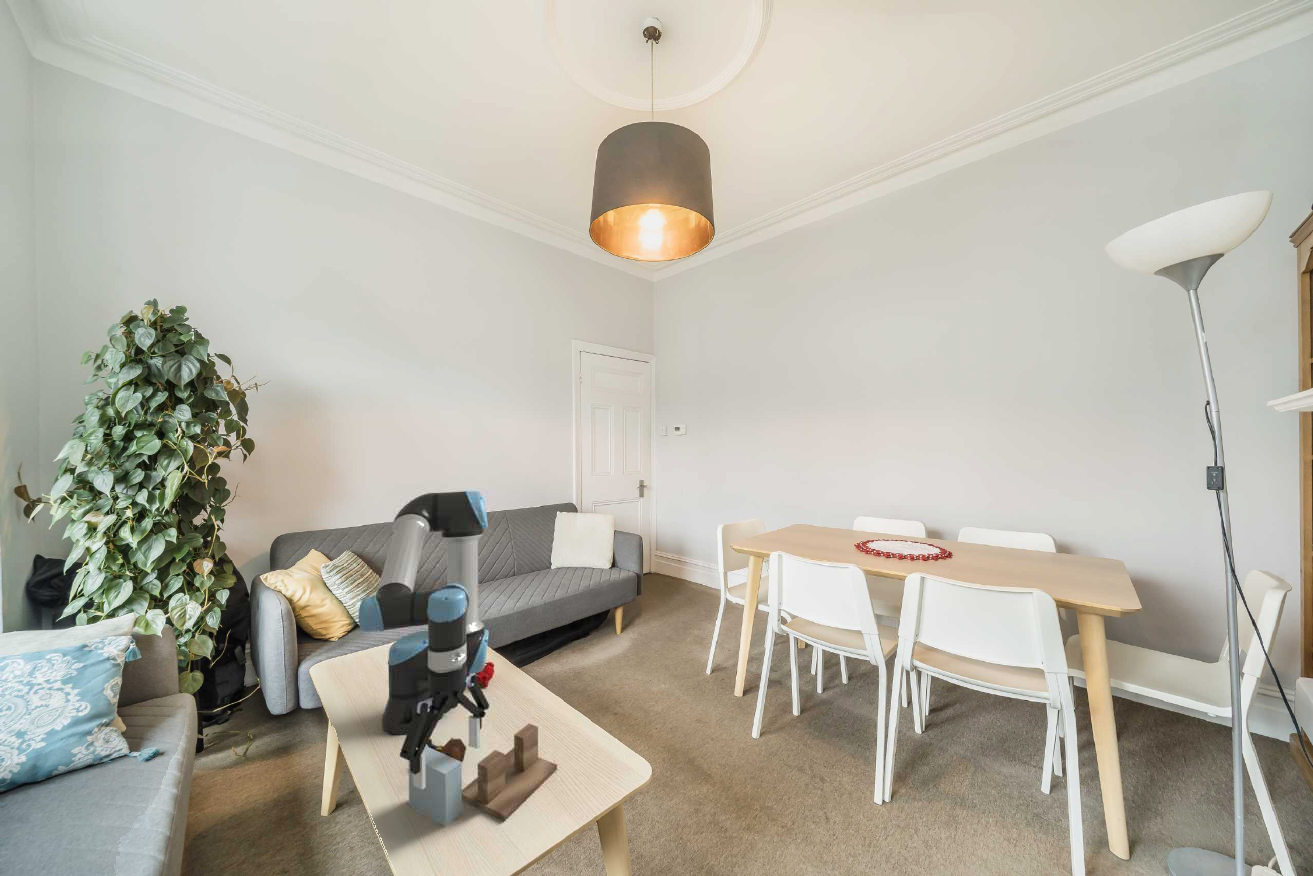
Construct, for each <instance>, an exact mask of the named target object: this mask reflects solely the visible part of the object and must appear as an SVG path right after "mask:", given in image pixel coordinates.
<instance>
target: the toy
mask: <svg viewBox="0 0 1313 876" xmlns="http://www.w3.org/2000/svg"><path fill="white" fill-rule="evenodd" d="M432 741H433V740H432V738H429V740H428V742H427V744H426V746H427V747H429V748H431V749H434V750H436V751H438V752H440V753H443V754H445V755H447V756H449V757H451V758H454V759H456V760H458V761H460V762H462V763H463V762H464V759H465V755H466V751H467V745H465V743H464V742H463V741H462V739H461V738H454V737H451V738H450V739H449V740H448V741H447V742H446V743H445V744H444V745H435V744H433V742H432Z"/></svg>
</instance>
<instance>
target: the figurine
mask: <svg viewBox="0 0 1313 876" xmlns="http://www.w3.org/2000/svg"><path fill="white" fill-rule="evenodd" d="M494 668H495V664H494V663H493V662H491V661H488V662H486V661H485V666H484V669H483V670H482V671H481V672H478V673H474V675H476V676H477V677H478V685H479V686H480V685H481V684H482V685H483V687H485V688H488V687H489V681H491V680H492V679H493V677H494V674H495V669H494Z"/></svg>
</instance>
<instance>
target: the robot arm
mask: <svg viewBox="0 0 1313 876" xmlns="http://www.w3.org/2000/svg"><path fill="white" fill-rule="evenodd" d="M487 516H488V515H487V509H486V505H485V498H484V494H483V493H482V492H480V491H470V490H469V491H468V490H465V491H464V490H463V491H450V492H445V491H444V492H428V493H424V494H421V495H419V496H417V497H415V498H414V499H412V500H410V501H409V502H408V503H407V504H405V505H404V506H403V507H402V508H401V509H400V510H399V511H398V513H397V514H396V515H395V517H394V520H393V522H392V526H391V533H392V535H393V536H392V540H391V544H390V546H389V550H388V553H387V556H386V560H385V562H384V563H385V564H384V567H383V571H382V572H381V577H380V580H379V584H378V586H377V590H376V594H373V595H370V596H366V597H364V598H362V600H361V602H360V604H359V610H358V625H359V629H360V630H361V631H363V632H365V633H367V632H383V631H389V630H390V631H391V630H396V629H402V628H409V627H410V628H411V627H418V626H419V627H420V626H427V630H421V631H415V632H413V633H410V634H407V635H404V636H402V637H401V638H399V639H397V640H396V641H394V642H393V644H391V646H390V648H389V649H388V660H387V665H388V699H387V701H386V705H385V708H384V711H383V714H382V717H381V728H382V730H383V731H384V732H385V733H387V734H390V735H405V734H406V736H405V739H404V741H403V743H402V744H403V745H402V747H401V749H400V753H399V757H400V758H402V759H405V760H407V761H409V760H410V771H411V773H413V785H414V786H416V787H418V788H420V789H422V790H423V789H424V788H425V787H426V770H425V754H423V753H422V752H423V750H424V748H425V746H427V742H428V740H429V739H431V736H432V734H433V733H434V731H435V728H436V726H437V724H438V722H440V721H441V720H442V719H443V717H444V714H445V715H446V714H447V713H448V712H450V711H451V710H452V709H456V708H457V707H458V705H460V706H462V707H463V708H464V709H465V710H466V711H468V712H469V713H470V714H472V715H469V716H468V746H469V747H471V748H472V749H473V748H474V749H475V750H479V749H480V748H481V730H482V726H483V725H482V724H483V722H482V719H483V718H484V717H485V716H486V711H487V710H489V708H490V703H489V702H488V700H487V698H486V696H485V694H484V692H483V690H482V689H481V687H480V685H478V677H477V675H475V673H478V672H481V671H482V670H483V669H484V666H485V665H486V664H485V662H486V660H487V651H488V642H489V634H490V633H489V632H490V631H489V630H488V629H484V628H485V627H484V626H485V625H484V623H483V622H482V621H481V620H479V555H478V551H479V550H478V549H479V543H478V541H479V539H480V538H481V537H482V536H483V535H484V530H485V529H487V528H488V526H489V523H488V518H487ZM436 532H441V538H442V540H444V541H445V542H446V547H447V548H446V549H447V550H446V551H447V557H446V558H447V559H446V561H447V565H446V566H447V570H446V571H447V572H446V574H447V575H446V576H447V577H446V579H447V580H446V581H447V582H446V583H447V584H446V585H443V587H442V586H441V588H437V589H429V590H428V589H427V590H418V591H414V587H415V585H416V584H415V583H416V578H417V574H418V567H419V564H420V558H421V555H422V549H423V544H424V540H425V538H426V537H428V535H429V534H430V533H436ZM466 689H468V691H469V692H470V695H471V696H472V698H473V700H474V702H475V703H474V702H473V701H471V700H470V699H469V697H467V695H466V694H464V693H465V691H466Z"/></svg>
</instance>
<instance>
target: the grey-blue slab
mask: <svg viewBox="0 0 1313 876" xmlns="http://www.w3.org/2000/svg"><path fill="white" fill-rule="evenodd" d="M422 753H423V754H425V770H426V787H425V788H424V789H423V790H422V789H420V788H418V787H416V786H414V785H413V773H411V771H410V760H408V806H409V807H410V808H412V809H414V810H416V811H417V812H419V813H421V814H422V815H424V816H425V817H428V818H430V819H432V820H434V821H435V822H437V823H439V824H440V825H442V826H444V827H447V826H448V825H450V824H451V823H452V822H453V821H454V820H456V818H457V817H459V816H460V815H461V814H463V800H462V790H463V787H462V784H463V782H462V781H463V780H462V776H463V775H462V769H463V768H462V766H463V765H462V763H463V762H460V761H458V760H456V759H454V758H451V757H449V756H447V755H445V754H443V753H440V752H438V751H436V750H434V749H431V748H429V747H428V746H427V745H426V746H425V748H424V750H423V752H422Z"/></svg>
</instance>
